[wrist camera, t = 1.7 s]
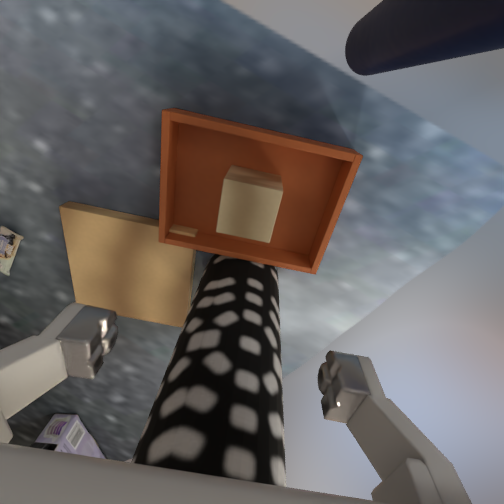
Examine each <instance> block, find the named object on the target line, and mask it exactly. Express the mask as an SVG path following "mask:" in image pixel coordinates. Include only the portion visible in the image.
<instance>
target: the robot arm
mask: <svg viewBox="0 0 504 504" xmlns="http://www.w3.org/2000/svg"><path fill="white" fill-rule="evenodd" d="M116 319H117V313H116V311H114V310H109V309H105V308H100V307H95V306H91V305H85V304H80V303H75V302H73V303H71V304H69V305H68V306H67V307H66V308H65V309H64V310H63V311H62V312H61V313H60V314H59V315H58V316H57V317H56V318H55V319H54V320H53V321H52V322H51V323H50V324H49V325H48V326H47V327H46V328H45V329H44V330H43V331H42V332H41V333H40V334H39V335H38V336H35V335H33V336H31V337H28V338H26V339H24V340H22V341H19V342H17V343H15V344H12V345H10V346H8V347H6V348H3V349H1V350H0V504H472V503H471V501H470V499H469V497H468V495H467V493H466V491H465V489H464V487H463V485H462V483H461V481H460V479H459V477H458V475H457V473H456V471H455V469H454V467H453V465H452V463H451V462H450V461H449V460H448V459H447V458H446V457H445V456H444V455H443V454H442V453H441V452H440V451H439V450H438V449H437V448H436V447H435V446H434V445H433V443H432V442H431V441H430V440H429V439H428V438H427V437H426V436H425V435H424V434H423V433H422V432H421V431H420V430H419V429H418V428H417V427H416V426H415V425H414V424H413V423H412V422H411V420H410V419H409V418H407V416H406V415H405V414H404V413H403V412H402V411H401V410H400V409H399V408H398V407H397V406H396V405H395V404H394V403H393V402H392V401H391V400H390V399H388V398H386V397H385V394H384V392H383V389H382V387H381V384H380V382H379V379H378V377H377V374H376V372H375V369H374V367H373V364H372V362H371V360H370V359H369V358H368V357H364V356H358V355H353V354H347V353H341V352H336V351H329V352H328V353H327V355H326V362H325V363H323V364H322V365H321V366H320V369H319V373H318V386H319V390H320V391H321V393H322V394H323V395H324V396H323V398H322V400H321V404H322V410H323V415H324V419H327V420H332V421H337V422H342V423H347V424H346V425H347V427H348V428H349V430H350V431H351V433H352V434H353V436H354V437H355V439H356V440H357V442H358V444H359V445H360V447H361V448H362V450H363V451H364V453H365V454H366V456H367V457H368V459H369V461H370V462H371V464H372V465H373V467H374V468H375V470H376V471H377V473H378V475H379V476H380V478H381V479H382V482H381V483H380V484H379V485H378V486H377V487H376V488H375V489H374V490H373V491H372V493H371V494H372V498H373V501H371V500H365V499H359V498H352V497H346V496H339V495H333V494H327V493H320V492H313V491H308V490H301V489H294V488H288V487H282V486H276V485H269V484H263V483H257V482H250V481H244V480H237V479H231V478H225V477H218V476H212V475H205V474H199V473H193V472H186V471H180V470H174V469H167V468H161V467H154V466H148V465H142V464H135V463H129V462H122V461H116V460H110V459H103V458H97V457H90V456H84V455H78V454H71V453H65V452H58V451H52V450H46V449H39V448H33V447H26V446H20V445H14V444H8V443H9V441H10V440H11V439H12V437H13V435H12V431H11V429H10V427H9V425H8V423H7V421H6V420H7V419H8V418H10V417H11V416H12V415H14V414H15V413H17V412H18V411H20V410H21V409H23V408H24V407H25V406H27V405H28V404H30V403H31V402H33V401H34V400H35V399H37V398H38V397H40V396H41V395H43V394H44V393H46V392H47V391H48V390H50V389H51V388H53V387H54V386H56V385H57V384H58V383H60V382H61V381H63V380H64V379H66V378H67V377H68V376H74V377H81V378H88V379H94V377H95V375H96V374H97V372H98V371H99V369H100V367H101V366H102V364H103V363H104V362H103V356H104V355H106V354H108V353H109V352H110V351H111V350H112V348H113V346H114V344H115V342H116V339H117V335H118V326H117V325H116V324H115V323H114V322H115V321H116Z"/></svg>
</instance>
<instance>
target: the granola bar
mask: <svg viewBox="0 0 504 504" xmlns="http://www.w3.org/2000/svg"><path fill="white" fill-rule="evenodd" d="M0 230H1V232H0V272H2V273H4V274H6V275H8V276H9V275H10V272H9V269H10V268H11V266H12V263H13V260H14V257H15V255H16V252H17V249H18V246H19V243H20V240H22V239H23V238H24V237H23V236H20V235H18V234H16V233H14V232H12V231H11V230H9V229H7V228H6V227H4V226H1V228H0Z"/></svg>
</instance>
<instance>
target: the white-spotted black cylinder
mask: <svg viewBox="0 0 504 504" xmlns="http://www.w3.org/2000/svg"><path fill="white" fill-rule="evenodd" d="M283 420H284V419H283V393H282V367H281V341H280V315H279V289H278V275H277V271H276V269H275V267H274V266H272V265H267V264H262V263H257V262H252V261H248V260H243V259H238V258H233V257H228V256H223V255H218V254H215V255H214V256H213V257H212V258H211V259H210V260H209V262H208V263H207V265H206V268H205V270H204V273H203V275H202V278H201V281H200V283H199V286H198V289H197V291H196V294H195V296H194V299H193V302H192V304H191V307H190V310H189V312H188V315H187V317H186V320H185V323H184V325H183V328H182V331H181V333H180V336H179V338H178V341H177V344H176V346H175V349H174V351H173V354H172V357H171V359H170V362H169V365H168V367H167V370H166V372H165V375H164V378H163V380H162V383H161V386H160V388H159V391H158V393H157V396H156V399H155V401H154V404H153V407H152V409H151V412H150V414H149V417H148V420H147V422H146V425H145V428H144V430H143V433H142V435H141V438H140V441H139V443H138V446H137V448H136V451H135V454H134V456H133V459H132V462H131V463H135V464H142V465H148V466H154V467H161V468H167V469H174V470H180V471H186V472H193V473H199V474H205V475H212V476H218V477H225V478H231V479H237V480H244V481H250V482H257V483H263V484H269V485H276V486H282V487H286V471H285V447H284V446H285V445H284V421H283Z"/></svg>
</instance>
